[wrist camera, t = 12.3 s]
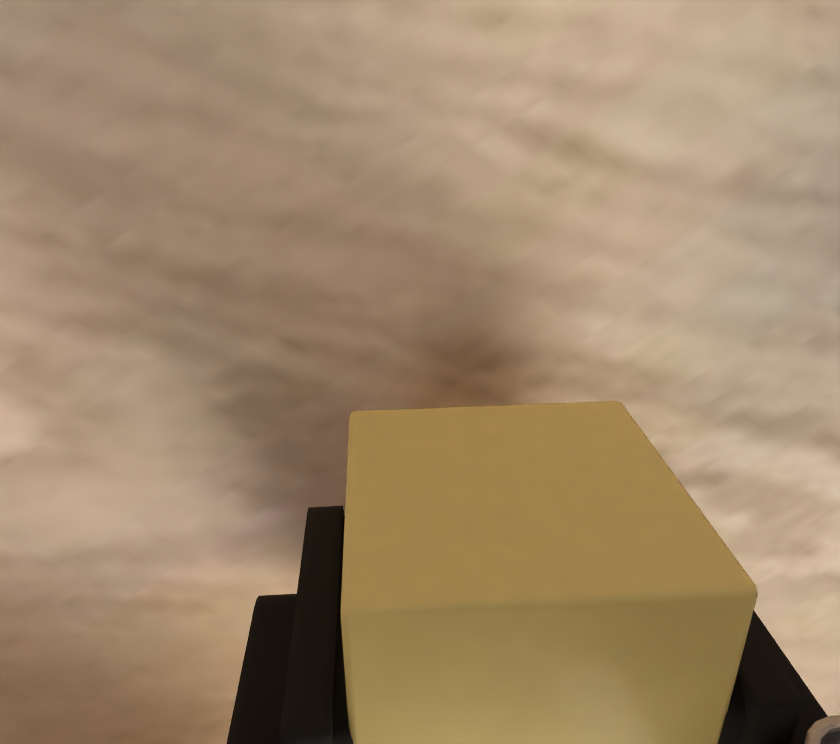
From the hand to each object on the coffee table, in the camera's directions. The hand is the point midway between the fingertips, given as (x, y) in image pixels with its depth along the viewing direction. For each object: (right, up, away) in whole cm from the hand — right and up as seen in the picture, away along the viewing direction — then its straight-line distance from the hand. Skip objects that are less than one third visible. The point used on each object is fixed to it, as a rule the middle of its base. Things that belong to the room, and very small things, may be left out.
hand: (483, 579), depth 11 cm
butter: (0, 0, 0) cm, 0 cm away
